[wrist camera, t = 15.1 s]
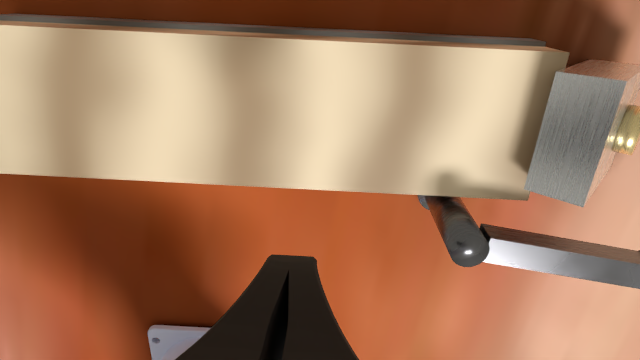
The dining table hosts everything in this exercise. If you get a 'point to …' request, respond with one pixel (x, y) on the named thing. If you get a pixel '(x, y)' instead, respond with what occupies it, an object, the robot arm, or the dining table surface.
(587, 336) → the dining table surface
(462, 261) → the lever
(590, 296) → the dining table surface
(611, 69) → the lever cap
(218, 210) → the dining table surface
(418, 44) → the plane body
